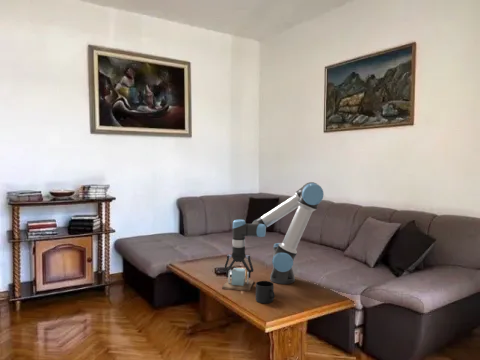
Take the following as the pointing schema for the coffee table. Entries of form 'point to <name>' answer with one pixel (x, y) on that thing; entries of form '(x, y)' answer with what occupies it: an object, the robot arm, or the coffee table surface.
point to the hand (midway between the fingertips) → (238, 282)
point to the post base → (237, 287)
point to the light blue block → (238, 276)
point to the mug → (264, 292)
